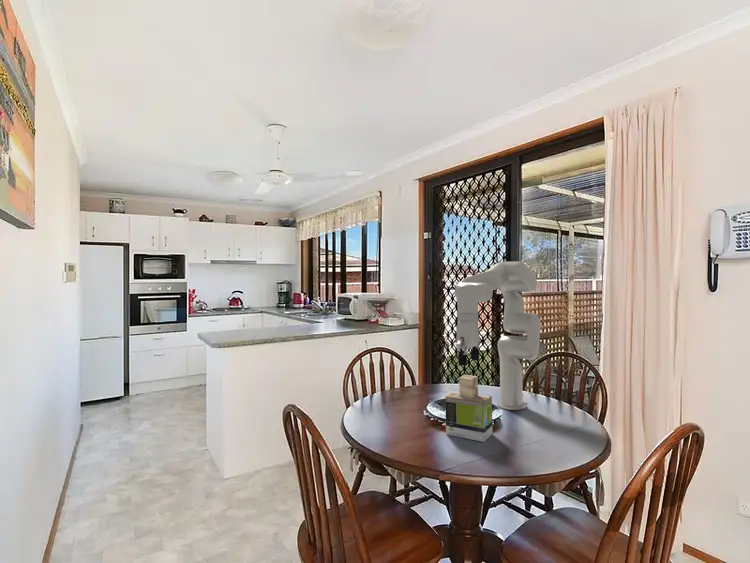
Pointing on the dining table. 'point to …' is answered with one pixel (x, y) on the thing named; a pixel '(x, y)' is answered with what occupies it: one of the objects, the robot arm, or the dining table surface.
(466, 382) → the maple block
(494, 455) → the dining table surface
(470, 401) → the tea box
